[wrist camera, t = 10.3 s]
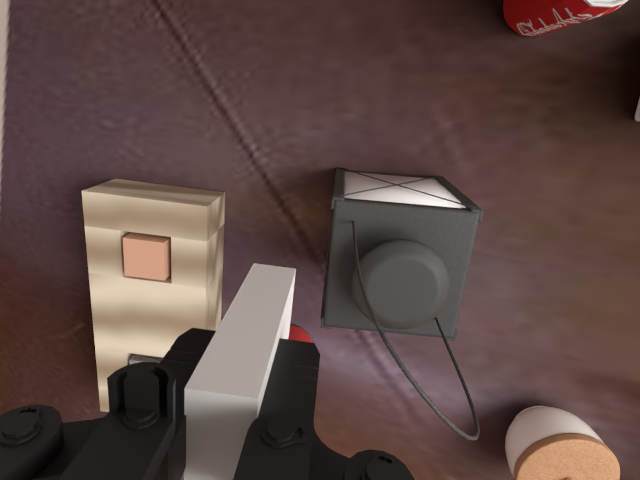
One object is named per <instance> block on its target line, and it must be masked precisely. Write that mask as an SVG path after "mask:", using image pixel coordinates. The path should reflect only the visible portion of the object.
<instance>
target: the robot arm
mask: <svg viewBox="0 0 640 480" xmlns="http://www.w3.org/2000/svg"><path fill="white" fill-rule="evenodd" d="M295 273H296V269H294V268H286V267H279V266H271V265H264V264H256V263H254V264H253V266H252V267H251V269H250V271H249V273H248V275H247V276H246V278H245V280H244V282H243V284H242V285H241V287H240V289H239V291H238V293H237V295H236V296H235V298H234V300H233V302H232V304H231V305H230V307H229V309H228V311H227V313H226V314H225V316H224V318H223V320H222V322H221V323H220V325H219V327H218V329H217V331H214V330H206V329H199V328H191V329H189V330H188V331H186V332H185V333H183V334H181V335H180V336H178V338H177V339H176V340H175V342H174V343H173V345H172V346H171V348H170V351H168V352H167V353H166V355H165V356H164V358H163V360H161V362H160V363H156V362H139V363H134V364H129V365H127V366H125V367H122V368H120V369H118V370H116V371H115V372H114V373H112V374H111V375H110V376H109V377H108V378H107V385H108V399H109V412H108V414H107V415H106V416H105V417H103V418H98V419H93V420H86V421H77V422H68V423H62V419H61V416H60V412H59V411H57V410H56V409H54V408H53V407H51V406H45V405H30V406H23V407H20V408H17V409H14V410H10V411H8V412H6V413H4V414H2V415H0V480H180V479H181V477H182V474H183V472H184V480H414V478H413V476H412V474H411V473H410V471H409V470H408V468H407V467H406V465H405V464H403V463H402V462H401V461H400V460H399V459H397V458H396V457H395V456H393V455H391V454H388V453H386V452H384V451H378V450H365V451H361V452H358V453H356V454H355V455H354V456H353V457H351V458H348V457H345V456H343V455H341V454H339V453H337V452H335V451H333V450H331V449H330V448H328V447H327V446H326V445H325V444H324V443H322V442H321V440H320V439H319V437H318V436H317V434H316V432H315V429H314V422H313V419H314V410H315V400H316V390H317V380H318V370H319V360H320V353H319V352H318V350H317V348H316V346H315V344H314V343H311V342H304V341H297V340H289V339H288V337H289V330H290V320H291V311H292V302H293V292H294V283H295Z"/></svg>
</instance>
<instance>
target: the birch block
mask: <svg viewBox="0 0 640 480" xmlns="http://www.w3.org/2000/svg"><path fill="white" fill-rule="evenodd" d="M82 202H83V214H84V225H85V237H86V249H87V260H88V272H89V283H90V295H91V306H92V318H93V330H94V341H95V353H96V364H97V376H98V387H99V399H100V410H101V411H105V412H109V399H108V385H107V378H108V377H109V376H110V375H111V374H112V373H114V372H115V371H116V370H118V369H120V368H122V367H125V366H127V365H129V360H130V359H131V357H132V356H133V355H134V354H140V355H148V356H155V357H163V358H164V356H165V355H166V353H167V352H168V351H170V348H171V346H172V345H173V343H174V342H175V340H176V339H177V338H178V336H180V335H181V334H183V333H185V332H186V331H188V330H189V329H191V328H199V329H206V330H214V331H217V329H218V327H219V325H220V323H221V306H222V277H223V247H224V218H225V192H219V191H211V190H203V189H195V188H187V187H179V186H171V185H162V184H154V183H146V182H138V181H130V180H122V179H113V180H110V181H107V182H105V183H102V184H99V185H96V186H93V187H91V188H88V189H85V190H82ZM131 232H135V233H143V234H151V235H159V236H167V237H171V275H170V276H169V277H168V278H167V279H166V280H165V281H163V280H155V279H147V278H140V277H132V276H125V271H124V253H123V237H125V236H126V235H128V234H129V233H131Z"/></svg>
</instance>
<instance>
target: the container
mask: <svg viewBox="0 0 640 480" xmlns="http://www.w3.org/2000/svg"><path fill="white" fill-rule="evenodd" d="M635 120H636V121H639V122H640V97H639V101H638V105H637V109H636V113H635Z"/></svg>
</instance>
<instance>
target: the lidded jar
mask: <svg viewBox="0 0 640 480" xmlns="http://www.w3.org/2000/svg"><path fill="white" fill-rule="evenodd" d="M505 450H506V456H507V461H508V464H509V468H510V470H511V473H512V475H513V477H514V480H619V477H620V467H619V463H618V460H617V459H616V457H615V455H614V454H613V453H612V451H611V450H610V449H609V448H608V447H607V446H606V445H605V444H604V443H603V441H602V440H601V439H600V438H599V436H598V435H597V434H596V433H595V432H594V431H593V430H592V429H591V428H590V427H589V426H588V425H587V424H586V423H585V422H583V421H582V420H581V419H580V418H578V417H577V416H575V415H573V414H572V413H570V412H568V411H565V410H562V409H559V408H554V407H548V406H541V405H538V406H531V407H528V408H526V409H524V410H522V411H521V412H519V413H518V414H517V415H516V416H515V418H514V420H513V422H512V423H511V425H510V426H509V429H508V431H507V434H506V440H505Z"/></svg>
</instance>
